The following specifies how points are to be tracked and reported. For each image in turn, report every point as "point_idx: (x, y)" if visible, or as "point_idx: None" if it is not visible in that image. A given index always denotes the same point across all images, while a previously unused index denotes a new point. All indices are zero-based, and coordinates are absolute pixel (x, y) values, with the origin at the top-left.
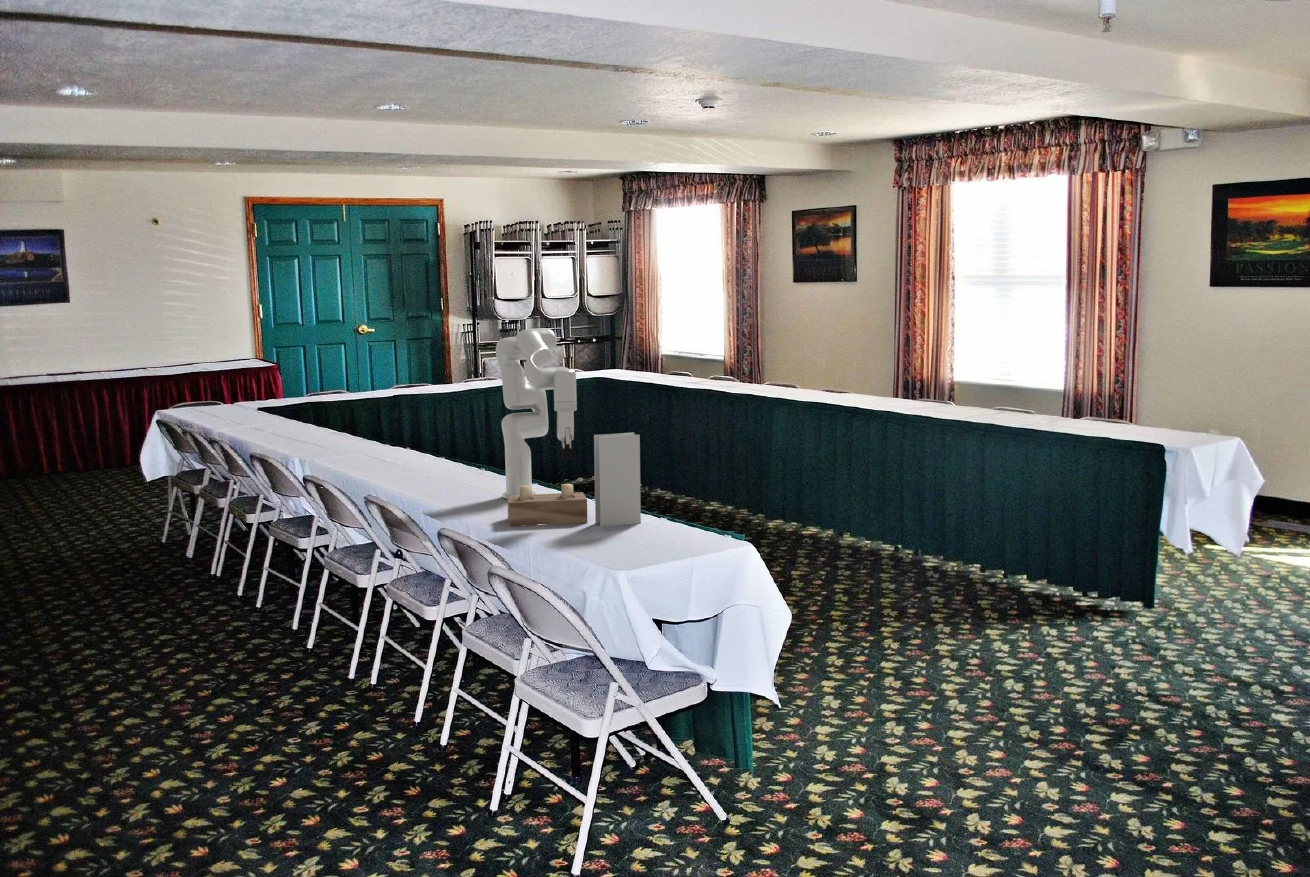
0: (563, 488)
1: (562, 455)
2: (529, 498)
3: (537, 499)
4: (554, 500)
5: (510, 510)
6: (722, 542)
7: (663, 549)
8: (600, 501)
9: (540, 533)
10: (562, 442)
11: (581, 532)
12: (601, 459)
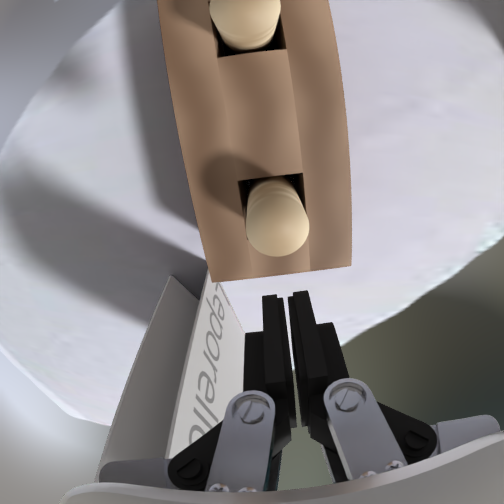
0: (252, 205)
1: (264, 325)
2: (223, 38)
3: (219, 74)
4: (192, 154)
5: None
6: (103, 415)
7: (42, 354)
8: (149, 323)
9: (89, 116)
10: (339, 446)
11: (107, 229)
12: (109, 455)
